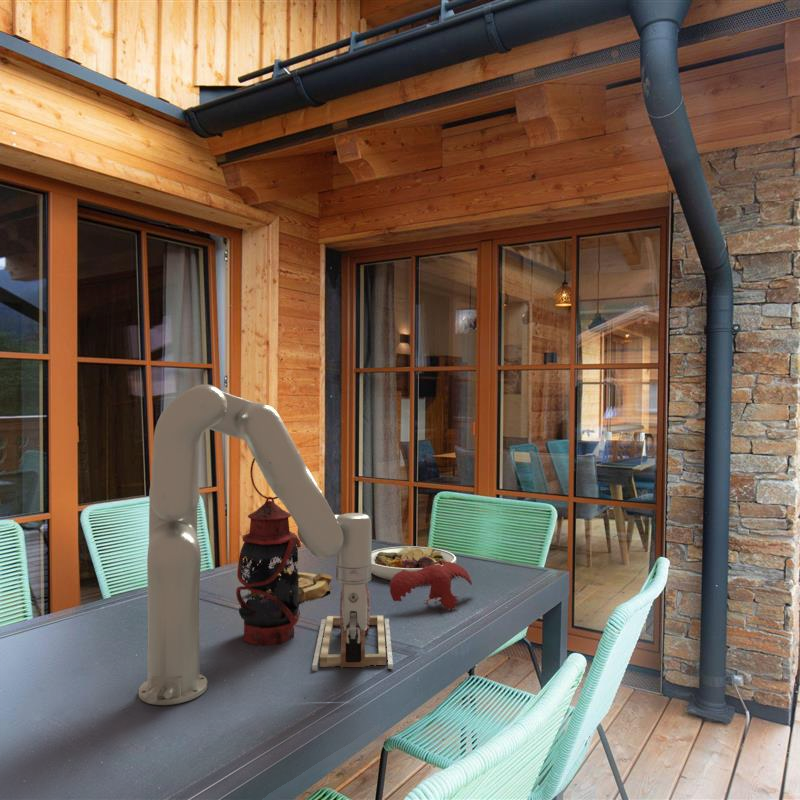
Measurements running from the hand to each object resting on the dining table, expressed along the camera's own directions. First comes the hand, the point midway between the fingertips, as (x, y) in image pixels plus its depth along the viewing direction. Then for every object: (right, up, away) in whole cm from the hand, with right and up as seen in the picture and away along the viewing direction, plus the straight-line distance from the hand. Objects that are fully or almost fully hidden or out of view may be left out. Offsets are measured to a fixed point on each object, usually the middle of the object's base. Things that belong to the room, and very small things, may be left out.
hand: (353, 652), depth 139 cm
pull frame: (-1, -3, +12) cm, 12 cm away
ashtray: (-22, -3, +53) cm, 58 cm away
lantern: (-22, -3, +16) cm, 27 cm away
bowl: (+13, -3, +76) cm, 77 cm away
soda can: (-1, -3, +19) cm, 19 cm away
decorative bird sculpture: (+20, -3, +41) cm, 46 cm away
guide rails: (-1, -3, +11) cm, 12 cm away
